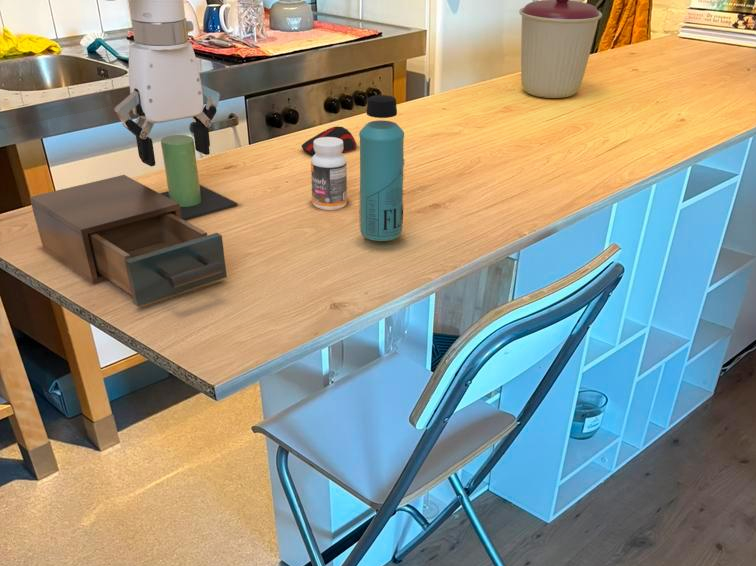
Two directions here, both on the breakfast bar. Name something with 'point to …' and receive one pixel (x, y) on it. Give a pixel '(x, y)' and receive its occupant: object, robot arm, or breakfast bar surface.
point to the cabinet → (93, 217)
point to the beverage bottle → (381, 172)
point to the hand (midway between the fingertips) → (176, 158)
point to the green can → (181, 169)
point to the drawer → (158, 257)
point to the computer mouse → (335, 132)
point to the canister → (556, 46)
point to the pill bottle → (329, 174)
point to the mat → (205, 204)
